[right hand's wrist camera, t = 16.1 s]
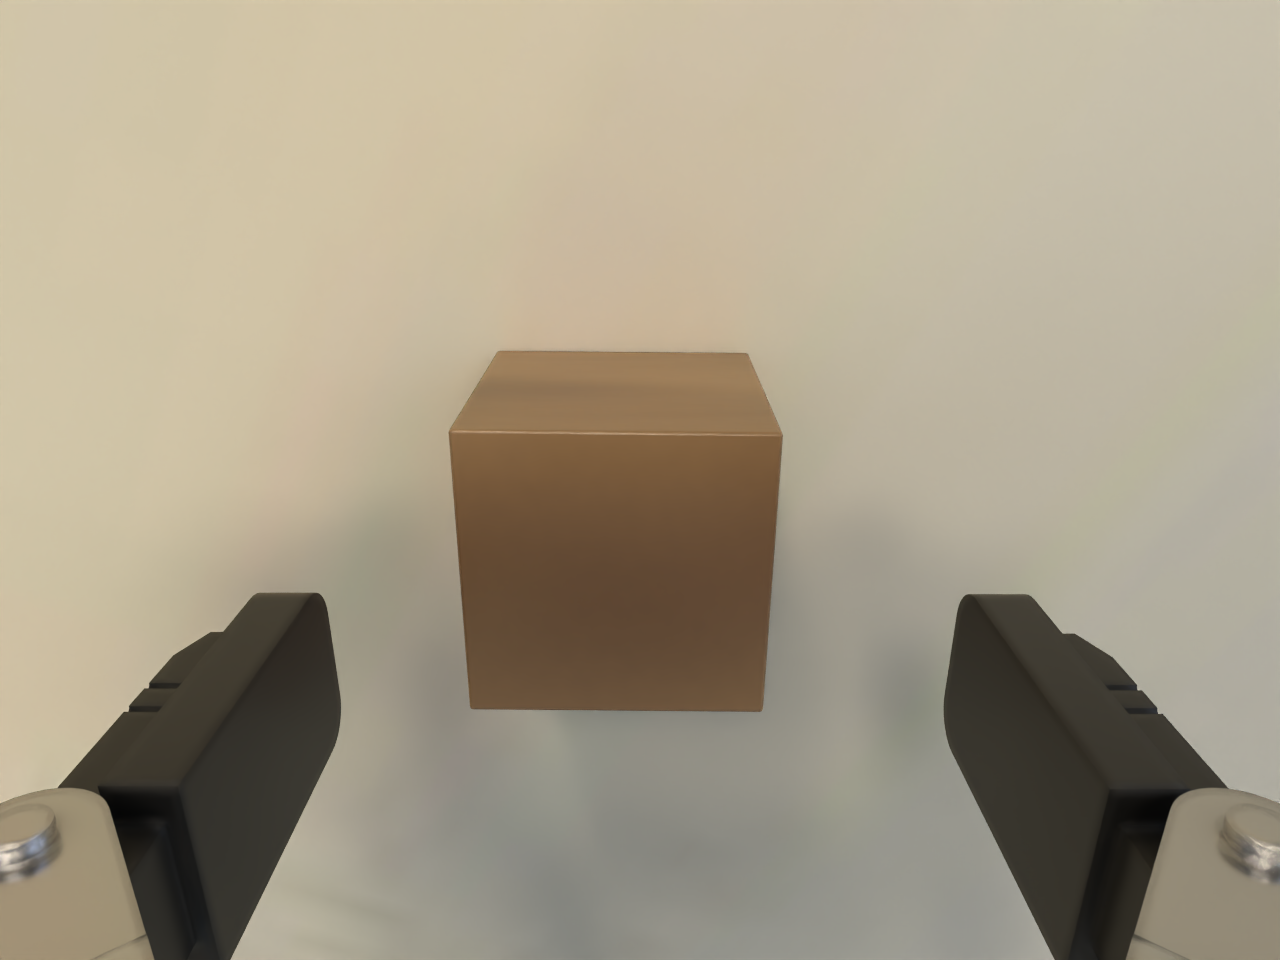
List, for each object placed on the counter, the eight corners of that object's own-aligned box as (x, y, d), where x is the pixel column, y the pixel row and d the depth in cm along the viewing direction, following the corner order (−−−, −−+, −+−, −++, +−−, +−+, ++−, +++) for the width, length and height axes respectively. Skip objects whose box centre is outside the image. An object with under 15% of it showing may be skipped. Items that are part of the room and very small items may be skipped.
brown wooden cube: (736, 576, 17) (763, 713, 13) (509, 574, 17) (469, 710, 13) (748, 352, 15) (784, 432, 12) (497, 350, 15) (448, 429, 12)
